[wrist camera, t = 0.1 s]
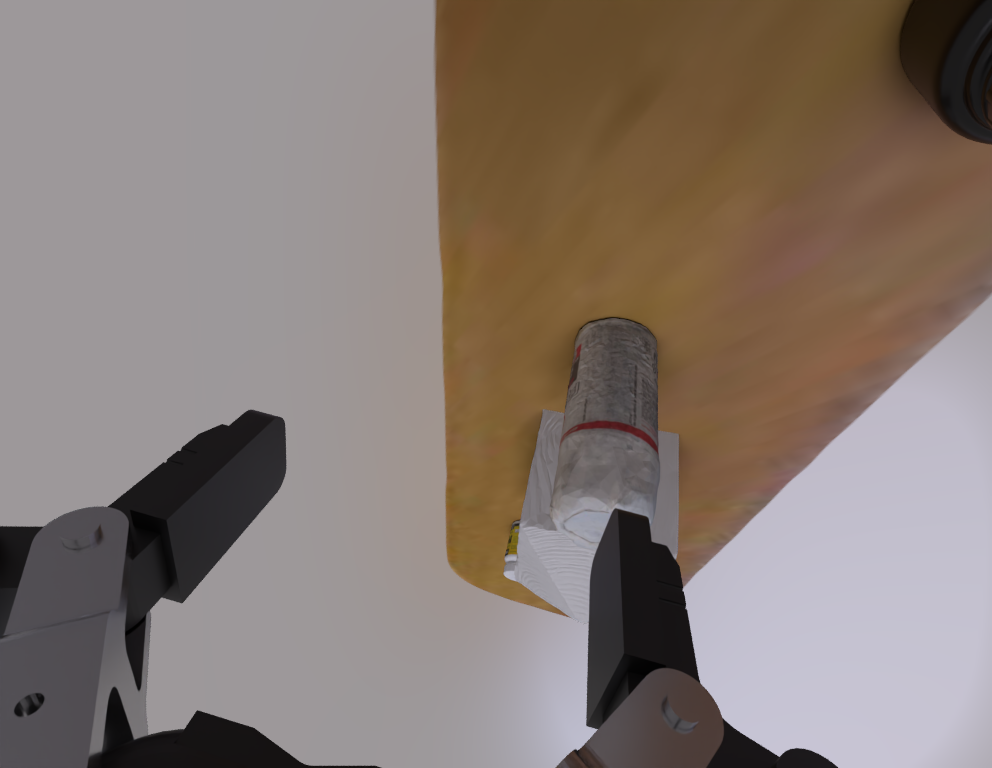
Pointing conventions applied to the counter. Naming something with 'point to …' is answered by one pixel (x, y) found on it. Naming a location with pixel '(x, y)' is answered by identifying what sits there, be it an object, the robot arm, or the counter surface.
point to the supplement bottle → (512, 551)
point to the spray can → (608, 431)
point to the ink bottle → (952, 62)
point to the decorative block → (552, 555)
